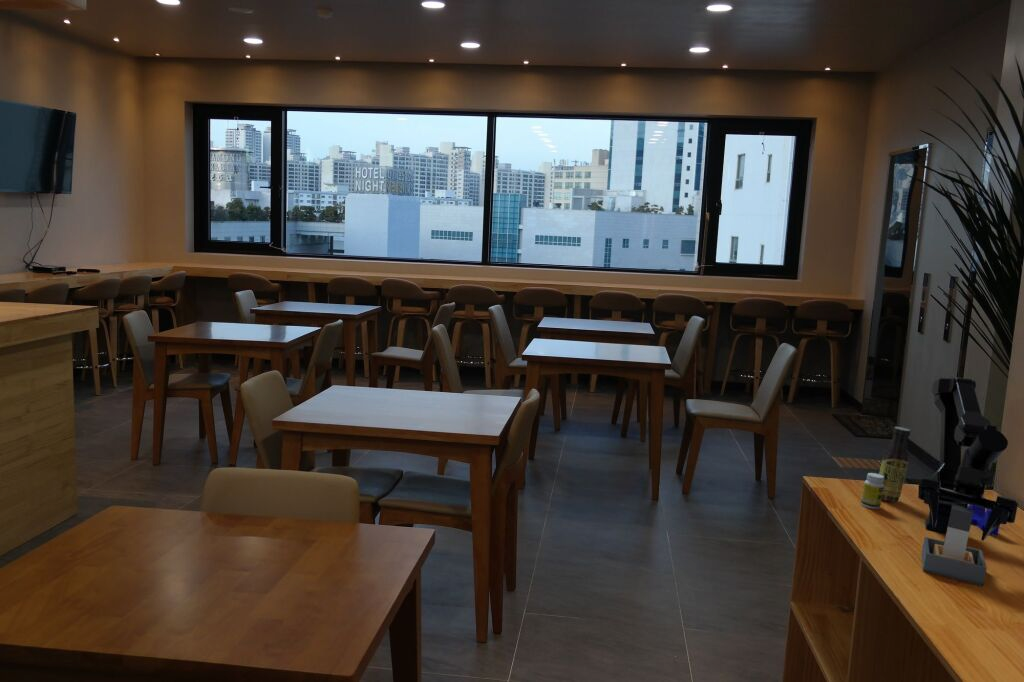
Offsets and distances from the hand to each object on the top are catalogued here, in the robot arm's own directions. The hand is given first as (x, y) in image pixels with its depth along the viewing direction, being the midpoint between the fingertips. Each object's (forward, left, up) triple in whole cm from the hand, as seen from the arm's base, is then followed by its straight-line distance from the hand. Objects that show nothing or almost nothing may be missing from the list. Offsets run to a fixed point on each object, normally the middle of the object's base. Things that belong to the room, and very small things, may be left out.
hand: (957, 532), depth 173 cm
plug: (-1, 0, -8) cm, 8 cm away
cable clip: (-40, +9, -9) cm, 42 cm away
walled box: (-1, 0, -9) cm, 9 cm away
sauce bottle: (-45, -13, -9) cm, 48 cm away
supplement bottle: (-35, -17, -9) cm, 40 cm away
